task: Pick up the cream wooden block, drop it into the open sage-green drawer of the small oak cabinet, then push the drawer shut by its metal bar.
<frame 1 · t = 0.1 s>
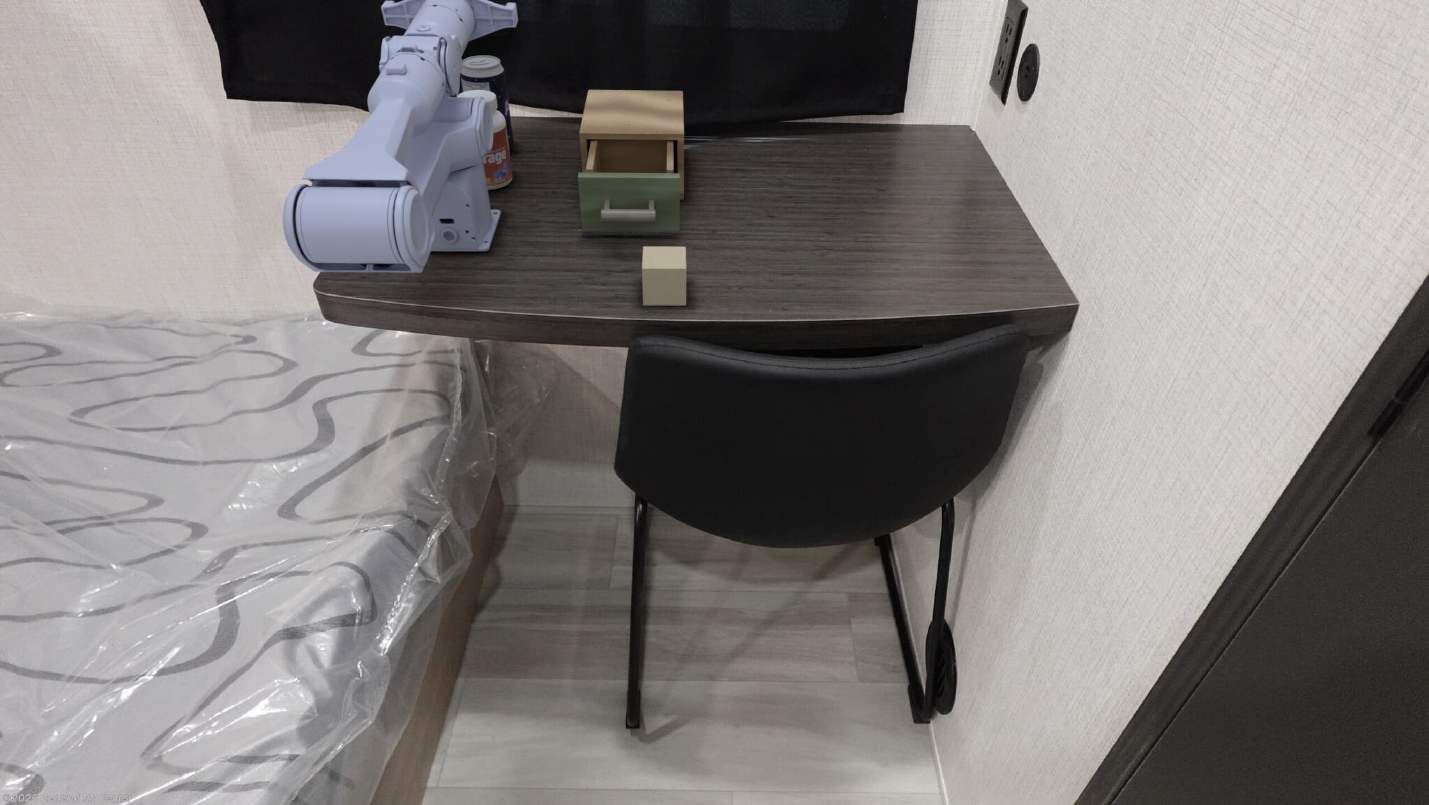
pill bottle: (489, 182, 109), on the table
block: (664, 294, 89), on the table
drawer: (631, 187, 99), point 4 cm above the table, slide at 9.0 cm
cabinet: (636, 174, 112), on the table
beverage can: (494, 151, 117), on the table
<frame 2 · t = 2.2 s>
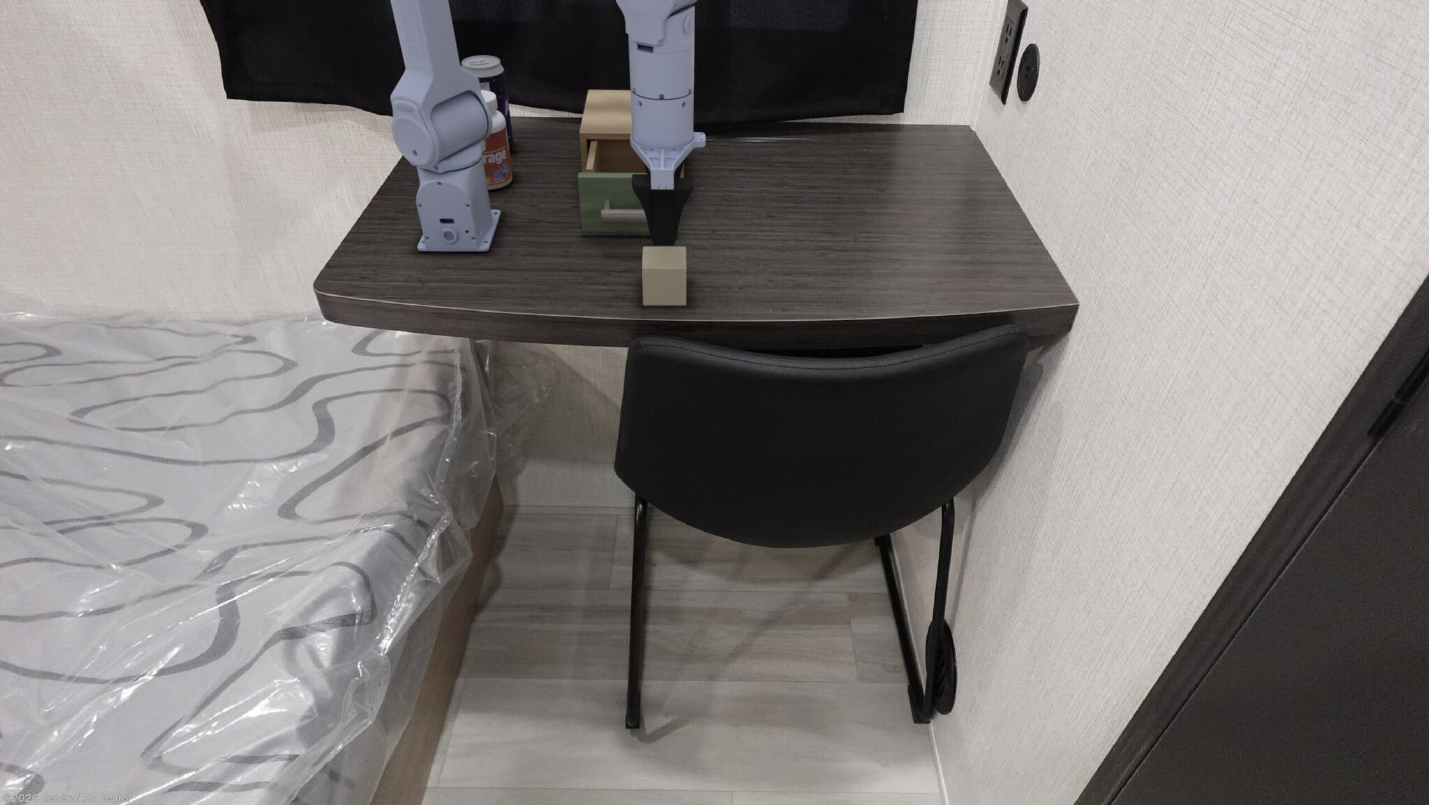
hand: (664, 224, 84), 8 cm above the table, tool pointing down, fingers open, 7 cm apart
nothing on the table moved.
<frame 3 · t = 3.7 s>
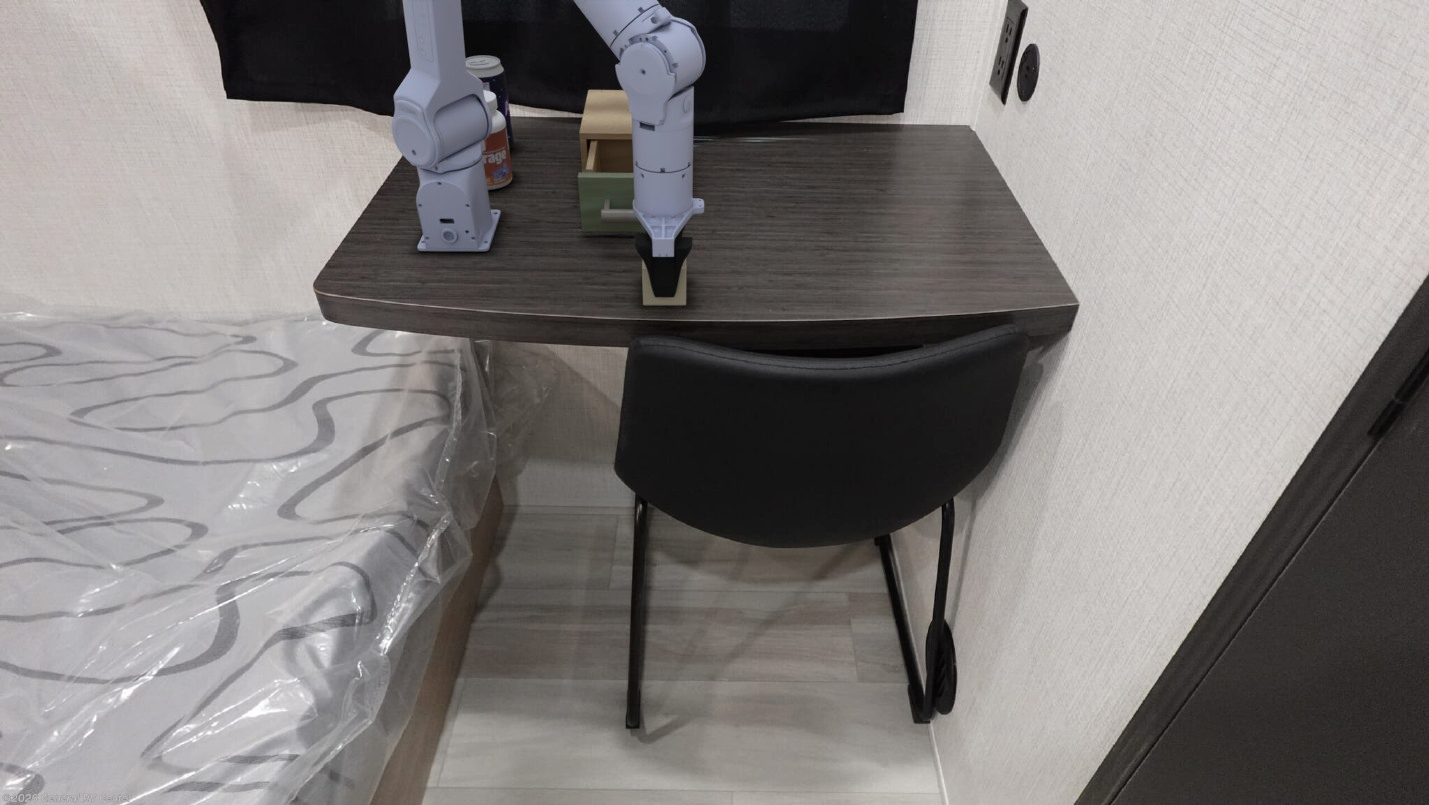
hand: (664, 282, 88), 1 cm above the table, tool pointing down, fingers closed on block, 4 cm apart
block: (664, 293, 89), on the table, touching gripper
everything else where it was.
when the fingers open (5 cm above the table, at t = 8.3 s): block drops 1 cm, resting on drawer.
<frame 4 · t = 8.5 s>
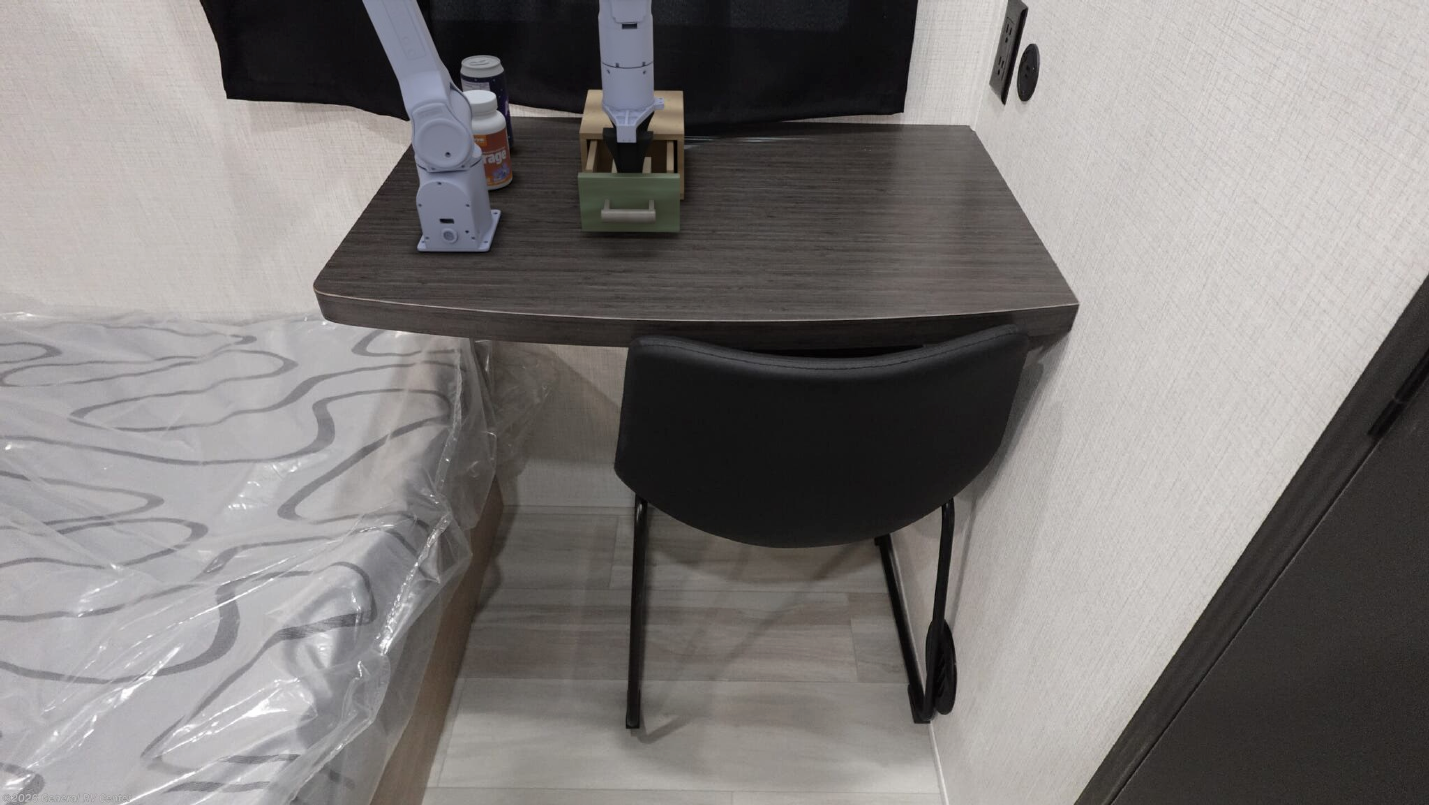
hand: (631, 177, 100), 5 cm above the table, tool pointing down, fingers open, 5 cm apart
block: (632, 199, 102), point 2 cm above the table, touching drawer
drawer: (631, 187, 99), point 4 cm above the table, slide at 9.0 cm, touching block
everything else where it was.
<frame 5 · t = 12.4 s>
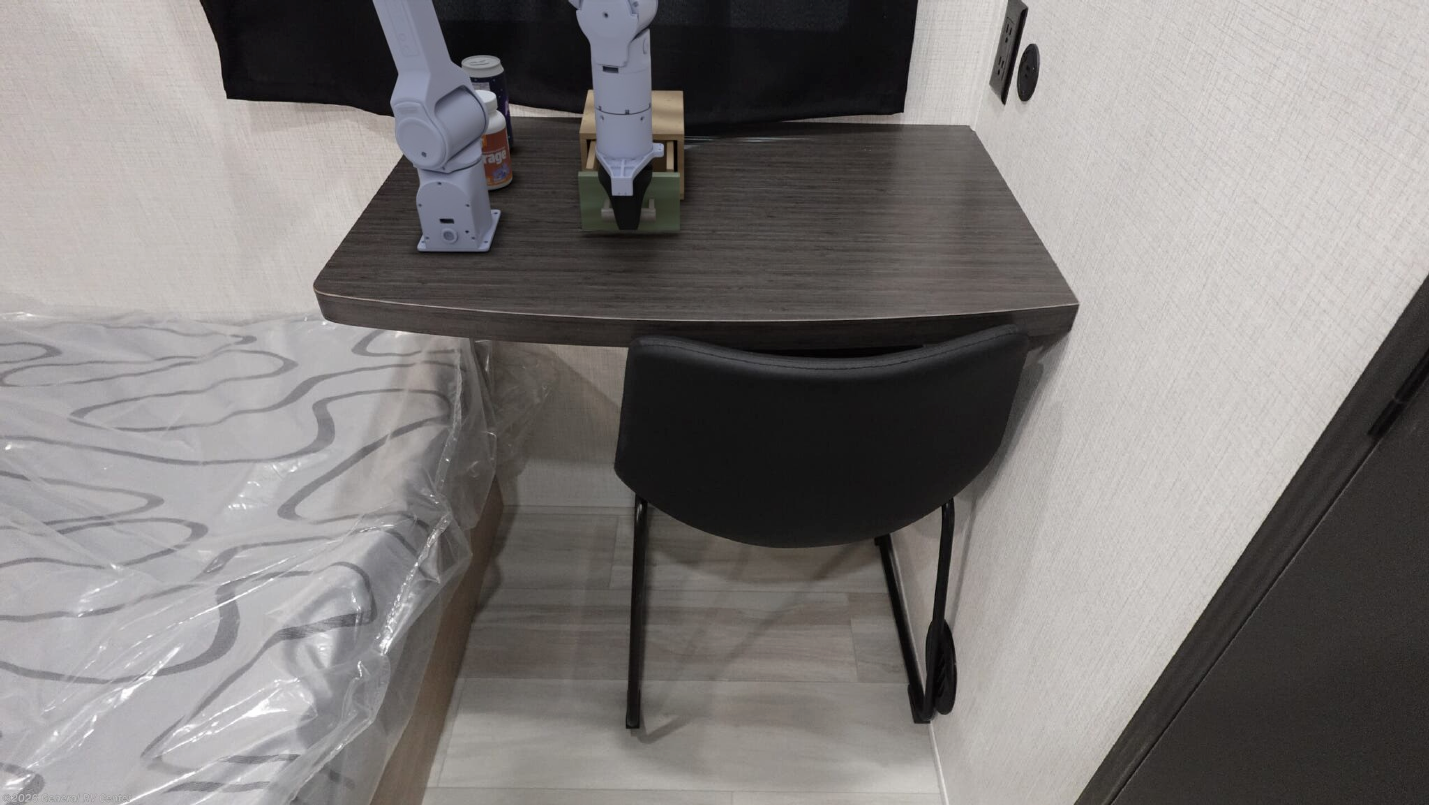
hand: (628, 227, 92), 4 cm above the table, tool pointing down, fingers closed
drawer: (631, 186, 99), point 4 cm above the table, slide at 8.7 cm, touching block, gripper
everything else where it was.
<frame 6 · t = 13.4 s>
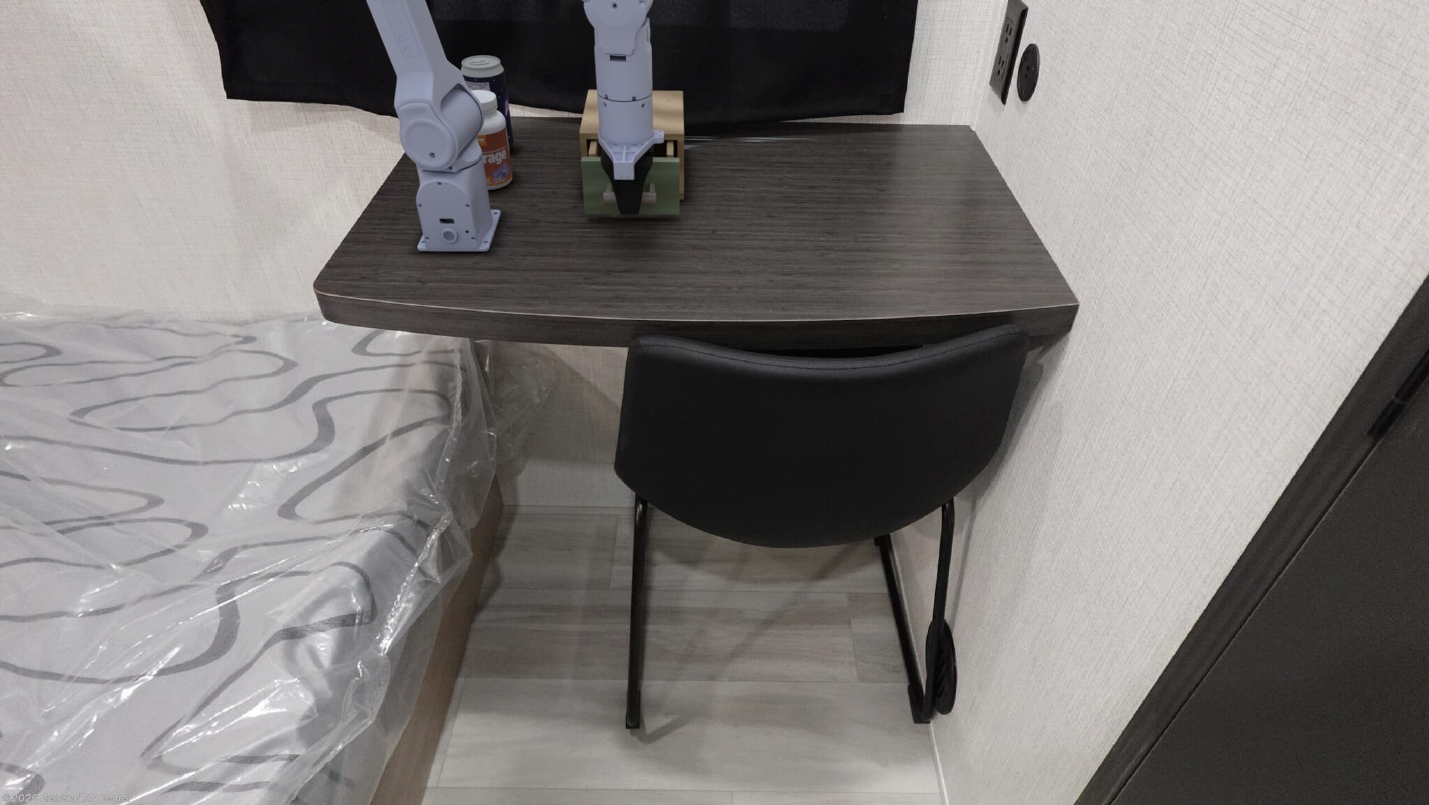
hand: (629, 211, 95), 4 cm above the table, tool pointing down, fingers closed
block: (634, 184, 105), point 2 cm above the table, touching drawer
drawer: (632, 171, 102), point 4 cm above the table, slide at 4.7 cm, touching block, gripper
everything else where it was.
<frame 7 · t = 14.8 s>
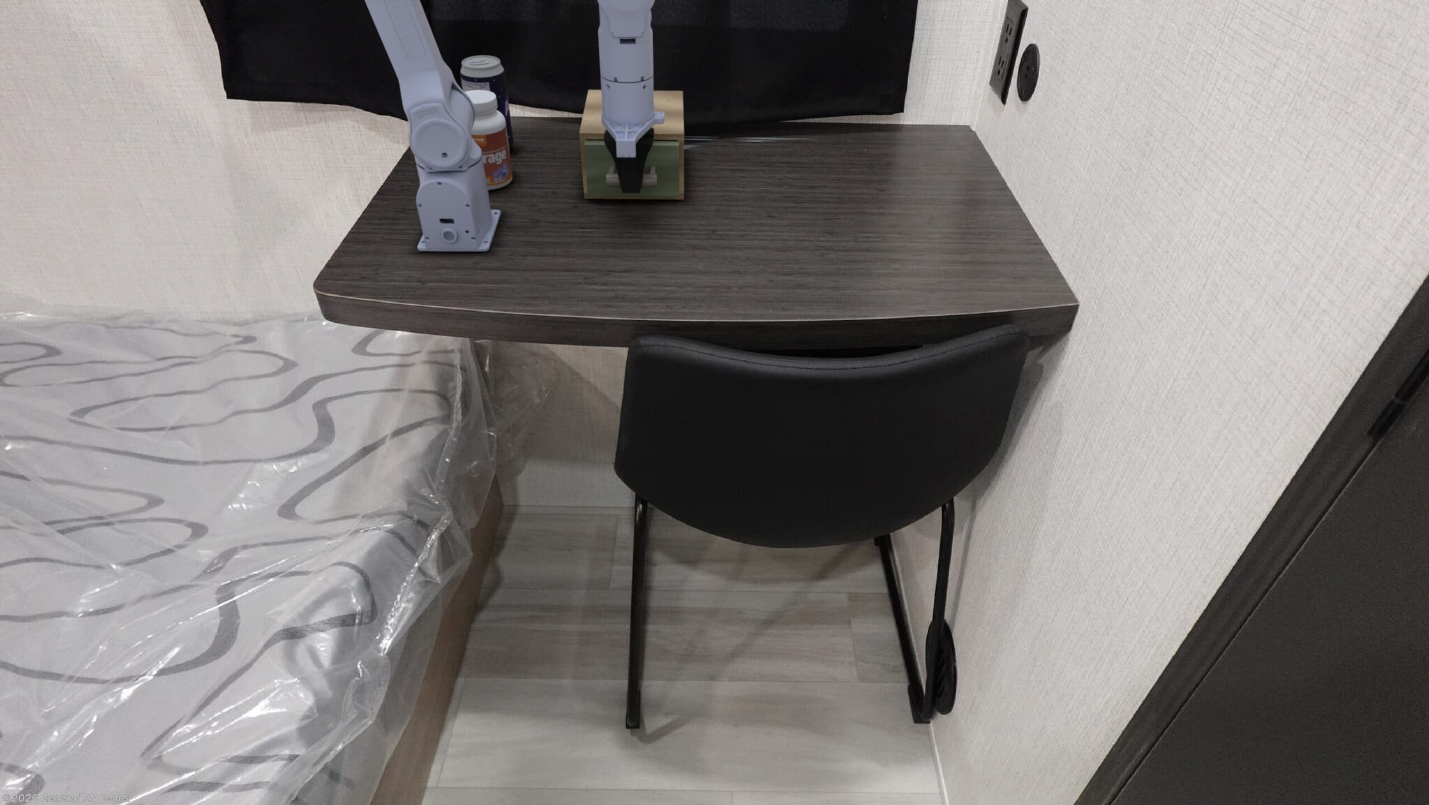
hand: (631, 191, 99), 4 cm above the table, tool pointing down, fingers closed, pressing on drawer
block: (635, 168, 109), point 2 cm above the table, touching drawer
drawer: (633, 155, 106), point 4 cm above the table, slide at 0.0 cm, touching block, cabinet, gripper
everything else where it was.
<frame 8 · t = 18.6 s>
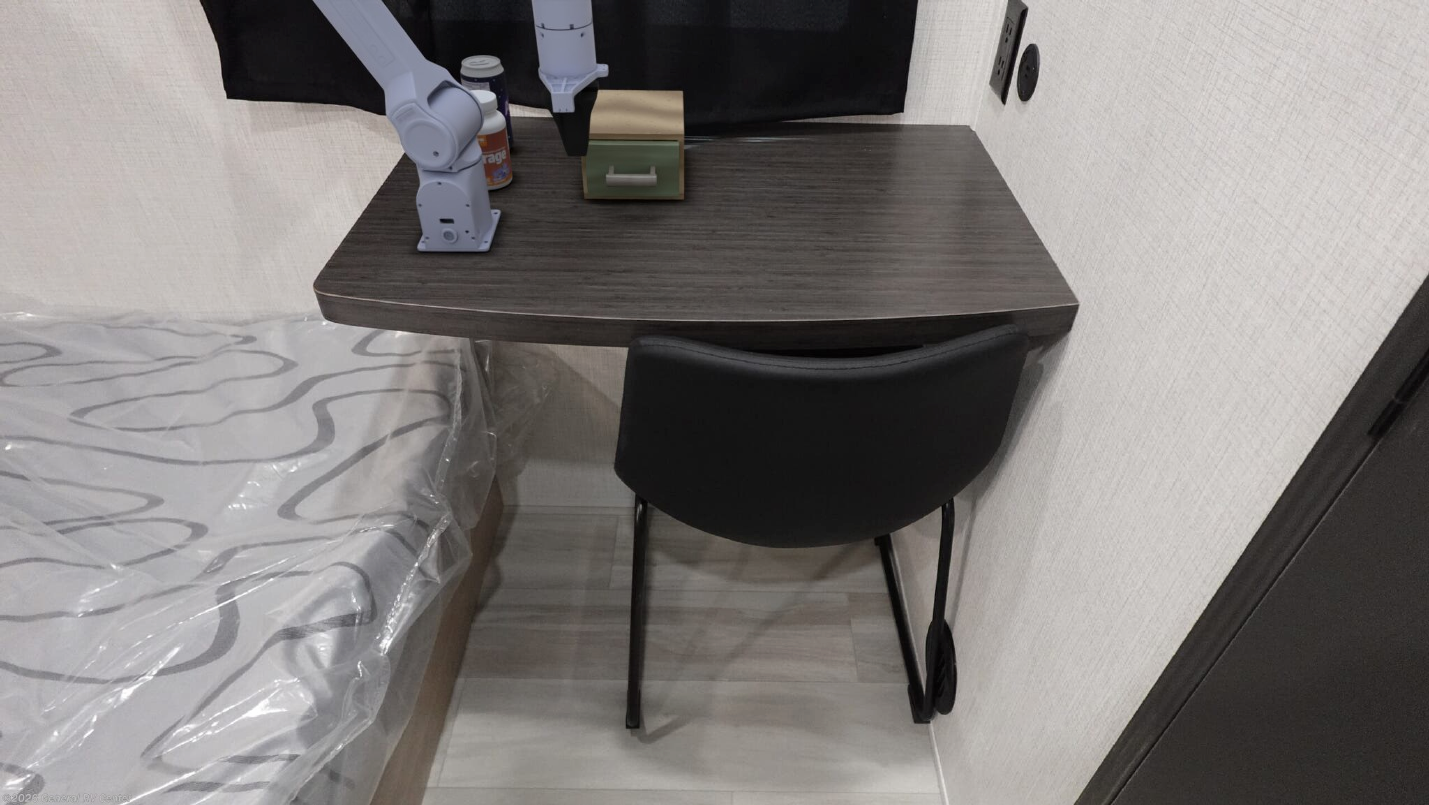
hand: (577, 153, 91), 10 cm above the table, tool pointing down, fingers closed
drawer: (633, 155, 106), point 4 cm above the table, slide at 0.0 cm, touching block, cabinet
everything else where it was.
at the end: block inside the target area in the cabinet (2.5 cm from its centre), point 2.0 cm above the cabinet's base; drawer slide at 0.0 cm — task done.
